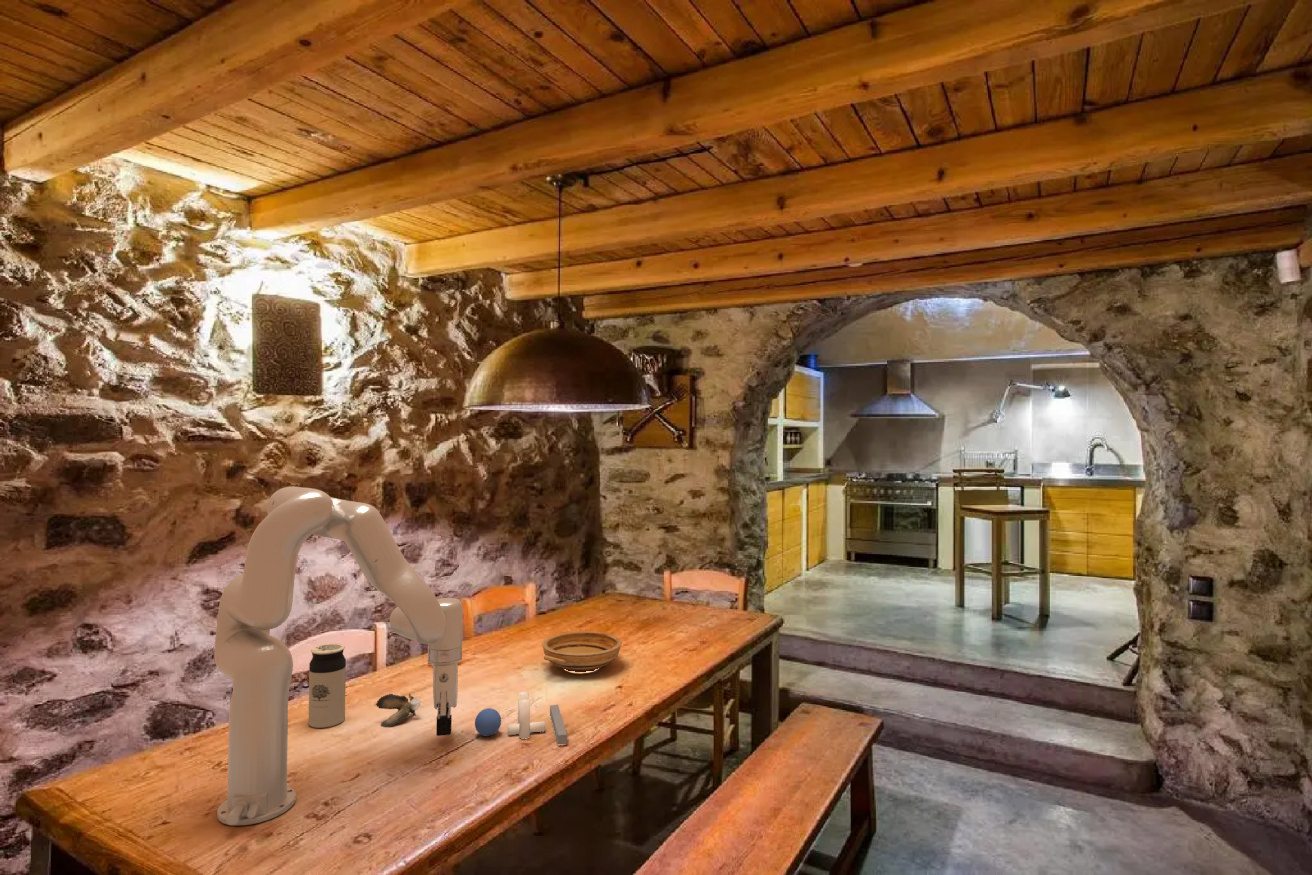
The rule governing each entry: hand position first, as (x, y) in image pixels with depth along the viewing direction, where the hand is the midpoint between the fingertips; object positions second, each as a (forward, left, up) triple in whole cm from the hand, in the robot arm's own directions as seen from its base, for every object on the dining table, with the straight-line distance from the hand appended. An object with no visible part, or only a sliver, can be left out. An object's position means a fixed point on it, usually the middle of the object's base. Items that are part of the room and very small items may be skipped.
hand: (443, 733), depth 155 cm
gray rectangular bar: (0, -26, -2) cm, 26 cm away
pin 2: (-2, -18, -2) cm, 18 cm away
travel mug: (+17, +28, -2) cm, 33 cm away
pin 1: (+2, -18, -2) cm, 18 cm away
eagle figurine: (+15, +11, -2) cm, 19 cm away
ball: (+1, -10, +2) cm, 10 cm away
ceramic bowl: (+43, -38, -2) cm, 57 cm away
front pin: (0, -14, 0) cm, 14 cm away
